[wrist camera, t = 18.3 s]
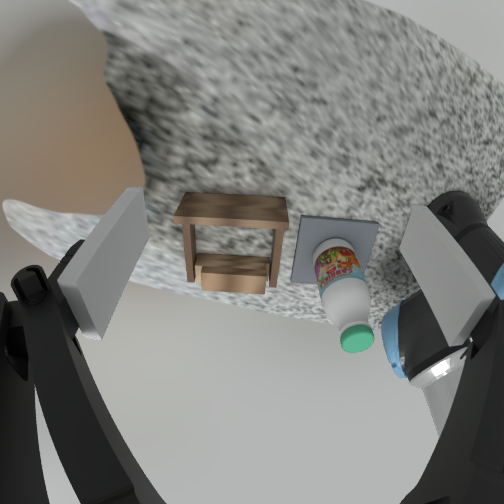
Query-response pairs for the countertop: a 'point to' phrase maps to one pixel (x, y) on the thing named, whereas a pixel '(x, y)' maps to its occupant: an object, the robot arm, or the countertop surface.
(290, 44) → the countertop surface
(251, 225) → the frame
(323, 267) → the milk bottle
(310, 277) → the rubber mat
